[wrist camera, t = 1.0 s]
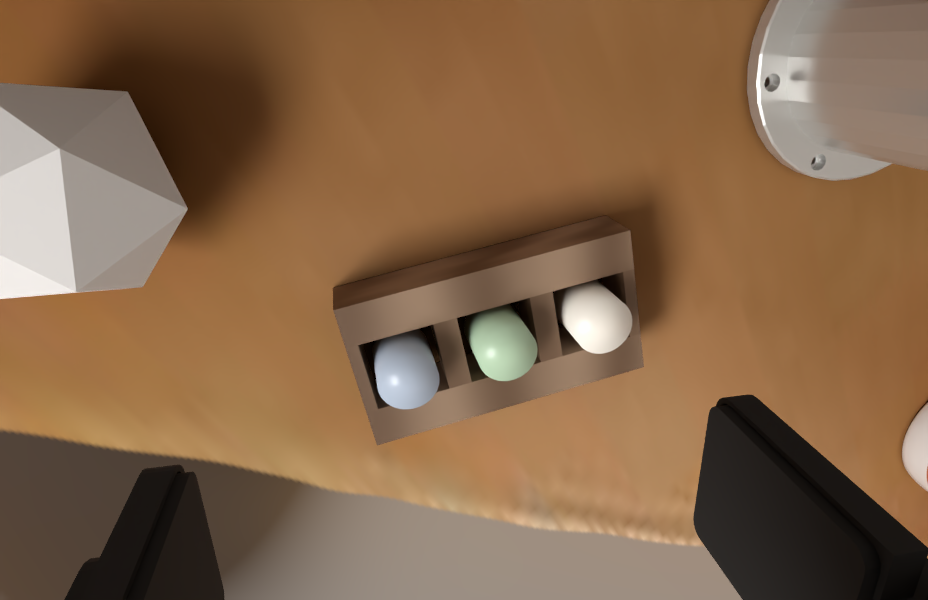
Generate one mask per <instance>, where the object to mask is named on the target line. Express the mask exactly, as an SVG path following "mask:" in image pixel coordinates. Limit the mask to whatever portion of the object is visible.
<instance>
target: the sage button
mask: <svg viewBox="0 0 928 600" xmlns="http://www.w3.org/2000/svg"><path fill="white" fill-rule="evenodd" d="M464 333H465V336H466V338H467V340H468V342H469V344H470V347H471V349H472V351H473V353H474V355H475V357H476V359H477V361H478V364H479V366H480V368H481V370H482V371H483V372H484V373H485V374H486V375H487V376H488V377H490V378H492V379H494V380H498V381H510V380H514V379H517V378H519V377H521V376H522V375H524V374H525V373H527V372H528V371H529V370H530V368H531V367H532V366H533V364H534V362H535V360H536V357H537V343H536V341H535V339H534V337H533V335H532V334H531V333H530V331H529V330H528V328H527V327H526V325H525V324H524V323H523V321H522V320H521V318H520V317H519V315H518V314H517V313H516V311H515V310H514V308H513V307H512V306H511V305H510V304H505V305H502V306H498V307H494V308H491V309H487V310H484V311H480V312H476V313H473V314H469V315H467V316H466V318H465V321H464Z"/></svg>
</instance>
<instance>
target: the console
mask: <svg viewBox="0 0 928 600" xmlns="http://www.w3.org/2000/svg"><path fill="white" fill-rule="evenodd" d="M599 278H603V284H604V286H605V287H606V288H607V289H608V290H609V291H610V292H612V293H613V294H614V295H615V296H616V297H617V298H618V299H620V300H621V301H622V302H623V303H624V304H625V305H626V306H627V307H628V308H629V310H630V312H631V315H632V328H631V331H630V333H629V335H628V337H627V339H626V340H625V341H624V342H623V343H622V344H621V345H620V346H619V347H618V348H616V349H614V350H612V351H610V352H607V353H603V354H595V353H591V352H588V351H586V350H585V349H583V348H582V347H581V346H580V345H579V343H578V342H577V341H576V340H575V339H574V338H573V336H572V335H571V334H570V333H569V332H568V330H567V329H566V328H565V327H562V328H558V323H557V317H556V311H555V304H554V298H553V292H552V291H556V290H560V289H563V288H567V287H570V286H574V285H578V284H581V283H585V282H588V281H592V280H596V279H599ZM516 301H518V304H519V309H520V314H521V320H522V321H523V323H524V324H525V325H526V327H527V328H528V330H529V331H530V333H531V334H532V335H533V337H534V339H535V341H536V343H537V357H536V360H535V362H534V364H533V366H532V367H531V368H530V370H529V371H528V372H527V373H525V374H524V375H522V376H521V377H519V378H517V379H514V380H510V381H498V380H494V379H492V378H490V377H488V376H487V375H486V374H485V373H484V372H483V371H482V370H481V368H480V366H479V364H478V361H477V359H476V357H475V355H474V353H470V354H466V355H465V351H464V347H463V342H462V338H461V334H460V330H459V325H458V321H457V318H458V317H462V316H466V315H469V314H473V313H476V312H480V311H484V310H487V309H491V308H494V307H498V306H502V305H505V304H509V303H513V302H516ZM333 311H334V314H335V317H336V320H337V323H338V326H339V329H340V332H341V335H342V338H343V341H344V344H345V348H346V351H347V354H348V357H349V360H350V363H351V366H352V369H353V372H354V375H355V378H356V381H357V385H358V388H359V391H360V394H361V397H362V400H363V403H364V406H365V409H366V412H367V415H368V418H369V422H370V425H371V428H372V431H373V434H374V437H375V440H376V443H377V445H380V444H383V443H387V442H390V441H394V440H397V439H400V438H404V437H407V436H411V435H414V434H417V433H421V432H424V431H428V430H431V429H434V428H438V427H441V426H445V425H448V424H451V423H455V422H458V421H462V420H465V419H468V418H472V417H475V416H479V415H482V414H485V413H489V412H492V411H496V410H499V409H502V408H506V407H509V406H513V405H516V404H519V403H523V402H526V401H530V400H533V399H537V398H540V397H543V396H547V395H550V394H554V393H557V392H560V391H564V390H567V389H571V388H574V387H577V386H581V385H584V384H588V383H591V382H594V381H598V380H601V379H605V378H608V377H611V376H615V375H618V374H622V373H625V372H628V371H632V370H635V369H639V368H642V367H644V364H643V354H642V344H641V334H640V324H639V313H638V303H637V293H636V283H635V273H634V263H633V252H632V242H631V232H630V230H629V229H627V228H626V227H624V226H623V225H621V224H619V223H618V222H616V221H614V220H613V219H611V218H610V217H608V216H606V215H605V216H601V217H597V218H594V219H590V220H586V221H582V222H579V223H575V224H571V225H567V226H564V227H560V228H556V229H552V230H549V231H545V232H541V233H537V234H534V235H530V236H526V237H522V238H519V239H515V240H511V241H507V242H503V243H500V244H496V245H492V246H488V247H485V248H481V249H477V250H473V251H470V252H466V253H462V254H458V255H455V256H451V257H447V258H443V259H440V260H436V261H432V262H428V263H425V264H421V265H417V266H413V267H409V268H406V269H402V270H398V271H394V272H391V273H387V274H383V275H379V276H376V277H372V278H368V279H364V280H361V281H357V282H353V283H349V284H346V285H342V286H338V287H334V288H333ZM429 325H431V328H432V332H433V336H434V340H435V343H436V347H437V351H438V355H439V359H440V362H438V363H435V364H436V367H437V370H438V373H439V387H438V389H437V392H436V393H435V395H434V396H433V398H432V399H431V400H430V401H428V402H427V403H426V404H424V405H422V406H420V407H417V408H414V409H398V408H395V407H392V406H390V405H389V404H387V403H386V402H385V401H384V400H383V399H382V398H381V396H380V394H379V392H378V388H377V381H376V380H374V378H373V375H372V372H371V369H370V365H369V362H368V359H367V356H366V353H365V349H364V346H363V344H364V343H368V342H371V341H375V340H379V339H382V338H386V337H390V336H393V335H397V334H400V333H404V332H408V331H411V330H415V329H419V328H422V327H426V326H429Z"/></svg>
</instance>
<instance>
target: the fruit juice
mask: <svg viewBox="0 0 928 600" xmlns="http://www.w3.org/2000/svg"><path fill="white" fill-rule="evenodd" d="M902 459H903V463H904V466H905V468H906V470H907V472H908V473H909V474H910V476H911V477H912V478H913V479H914V480H915V481H916V482H917V483H918V484H919V485H920V486H921V487H922V488H924V489H925V490H926V491H928V403H927V404H926V405H925V406H924V407H923V408H922V409H921V410H920V411H919V413H918V414H917V415H916V417H915V418H914V420H913V421H912V423H911V424H910V426H909V428H908V430H907V433H906V435H905V438H904V442H903V447H902Z"/></svg>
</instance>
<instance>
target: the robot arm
mask: <svg viewBox="0 0 928 600" xmlns="http://www.w3.org/2000/svg"><path fill="white" fill-rule="evenodd" d="M747 94H748V101H749V108H750V114H751V117H752V120H753V123H754V125H755V128H756V131H757V134H758V135H759V137H760V138H761V140H762V142H763V143H764V145H765V147H766V148H767V150H768V151H769V152H770V153H771V154H772V155H773V156H774V157H775V158H776V159H777V160H778V161H779V162H780V163H782V164H783V165H785V166H787V167H789V168H790V169H792V170H794V171H795V172H798V173H801V174H804V175H808V176H811V177H814V178H820V179H826V180H832V181H834V180H850V179H855V178H858V177H862V176H866V175H870V174H872V173H874V172H876V171H879V170H881V169H883V168H885V167H887V166H889V165H891V164H892V163H893V164H897V165H902V166H907V167H912V168H916V169H921V170H926V171H928V0H769V2H768V4H767V6H766V8H765V10H764V12H763V14H762V16H761V18H760V21H759V24H758V27H757V30H756V33H755V36H754V38H753V41H752V47H751V52H750V57H749V63H748V75H747ZM694 526H695V530H696V532H697V535H698V536H699V538H700V540H701V541H702V542H703V544H704V545H705V547H706V548H707V550H708V551H709V552H710V554H711V555H712V557H713V558H714V559H715V561H716V562H717V564H718V565H719V567H720V568H721V569H722V571H723V572H724V574H725V575H726V577H727V578H728V579H729V581H730V582H731V584H732V585H733V586H734V588H735V589H736V591H737V592H738V594H739V595H740V596H741V598H742V599H743V600H928V559H927V556H928V548H927V547H926V546H925V545H924V544H923V543H922V542H921V541H920V540H918V539H917V538H916V537H915V536H914V535H913V534H912V533H910V532H909V531H908V530H907V529H906V528H905V527H904V526H902V525H901V524H900V523H899V522H898V521H897V520H896V519H894V518H893V517H892V516H891V515H890V514H889V513H888V512H886V511H885V510H884V509H883V508H882V507H881V506H880V505H878V504H877V503H876V502H875V501H874V500H873V499H872V498H870V497H869V496H868V495H867V494H866V493H865V492H864V491H862V490H861V489H860V488H859V487H858V486H857V485H856V484H854V483H853V482H852V481H851V480H850V479H849V478H848V477H847V476H845V475H844V474H843V473H842V472H841V471H840V470H839V469H837V468H836V467H835V466H834V465H833V464H832V463H831V462H829V461H828V460H827V459H826V458H825V457H824V456H823V455H821V454H820V453H819V452H818V451H817V450H816V449H815V448H813V447H812V446H811V445H810V444H809V443H808V442H807V441H805V440H804V439H803V438H802V437H801V436H800V435H799V434H797V433H796V432H795V431H794V430H793V429H792V428H791V427H789V426H788V425H787V424H786V423H785V422H784V421H783V420H781V419H780V418H779V417H778V416H777V415H776V414H775V413H774V412H772V411H771V410H770V409H769V408H768V407H767V406H766V405H764V404H763V403H762V402H761V401H760V400H759V399H758V398H756V397H755V396H753V395H741V396H733V397H725V398H721V399H719V401H718V402H717V405H716V406H715V407H712V408H711V410H710V412H709V417H708V423H707V430H706V437H705V444H704V450H703V457H702V464H701V470H700V477H699V484H698V491H697V497H696V504H695V511H694ZM65 600H224V589H223V585H222V580H221V577H220V572H219V568H218V564H217V560H216V556H215V551H214V547H213V543H212V539H211V535H210V531H209V527H208V523H207V518H206V514H205V510H204V506H203V502H202V498H201V493H200V489H199V485H198V481H197V478H196V475H195V473H194V472H187V473H185V472H184V469H183V467H182V466H181V465H172V466H164V467H156V468H147V469H144V470H142V472H141V473H140V475H139V477H138V479H137V481H136V483H135V486H134V487H133V489H132V492H131V494H130V496H129V498H128V500H127V502H126V504H125V506H124V509H123V510H122V513H121V515H120V517H119V519H118V521H117V523H116V525H115V527H114V529H113V531H112V533H111V535H110V537H109V539H108V542H107V544H106V546H105V548H104V550H103V552H102V554H101V556H100V558H92V559H89V560H88V561H87V562H85V563H84V564H83V566H82V567H81V569H80V571H79V572H78V574H77V576H76V578H75V580H74V582H73V584H72V586H71V588H70V590H69V592H68V594H67V596H66V598H65Z"/></svg>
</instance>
